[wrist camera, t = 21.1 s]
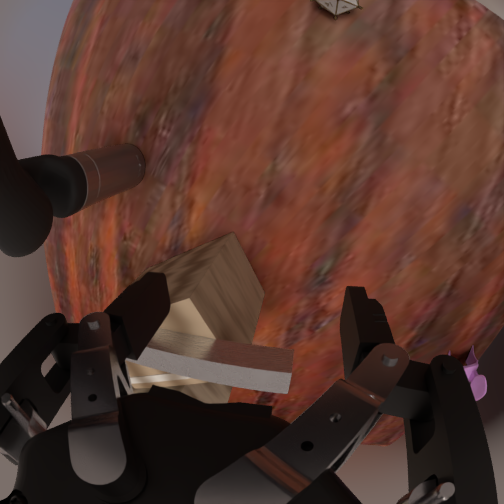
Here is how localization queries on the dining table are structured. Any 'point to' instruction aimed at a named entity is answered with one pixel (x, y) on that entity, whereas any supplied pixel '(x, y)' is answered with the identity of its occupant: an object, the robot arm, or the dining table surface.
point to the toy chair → (475, 376)
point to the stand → (205, 309)
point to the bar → (219, 361)
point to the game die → (338, 6)
